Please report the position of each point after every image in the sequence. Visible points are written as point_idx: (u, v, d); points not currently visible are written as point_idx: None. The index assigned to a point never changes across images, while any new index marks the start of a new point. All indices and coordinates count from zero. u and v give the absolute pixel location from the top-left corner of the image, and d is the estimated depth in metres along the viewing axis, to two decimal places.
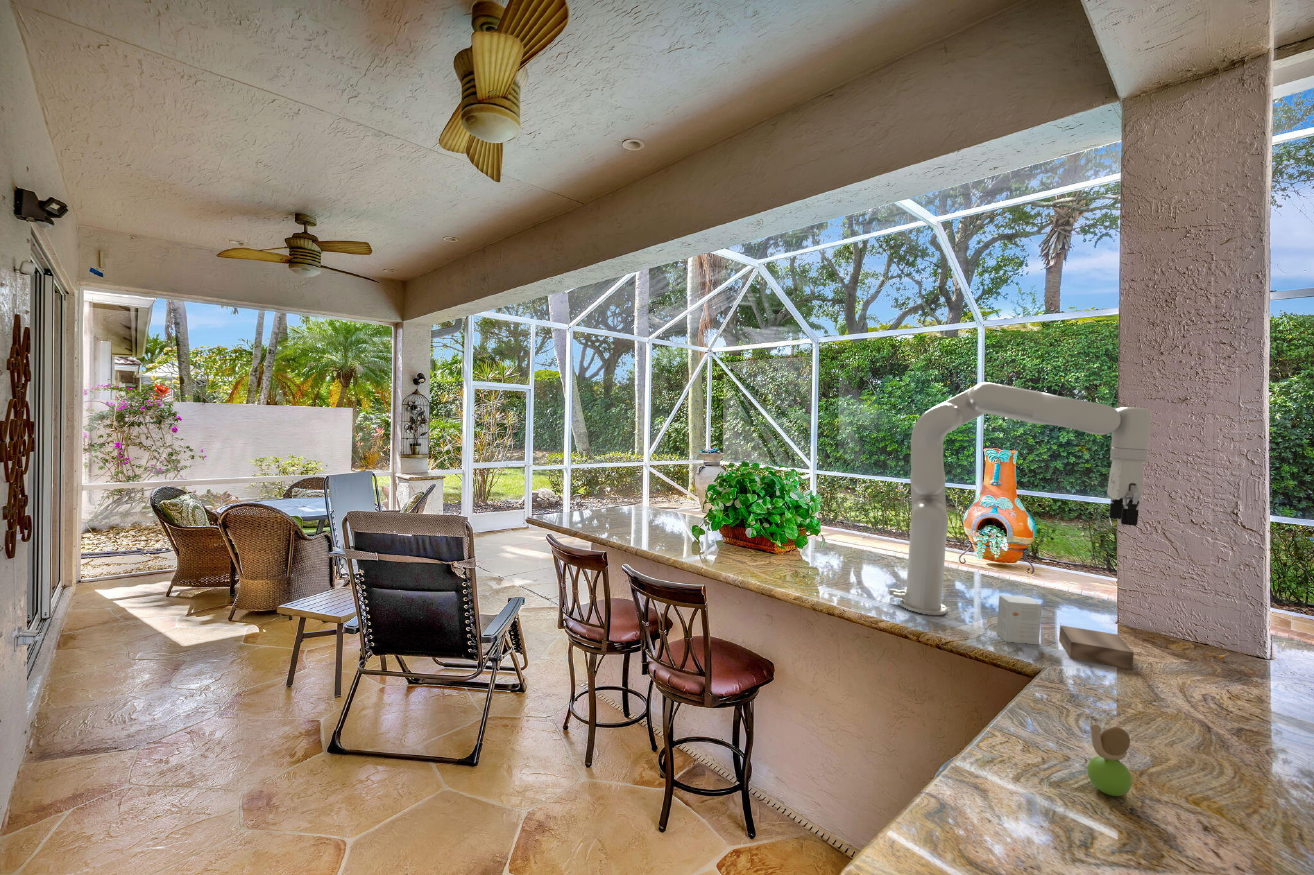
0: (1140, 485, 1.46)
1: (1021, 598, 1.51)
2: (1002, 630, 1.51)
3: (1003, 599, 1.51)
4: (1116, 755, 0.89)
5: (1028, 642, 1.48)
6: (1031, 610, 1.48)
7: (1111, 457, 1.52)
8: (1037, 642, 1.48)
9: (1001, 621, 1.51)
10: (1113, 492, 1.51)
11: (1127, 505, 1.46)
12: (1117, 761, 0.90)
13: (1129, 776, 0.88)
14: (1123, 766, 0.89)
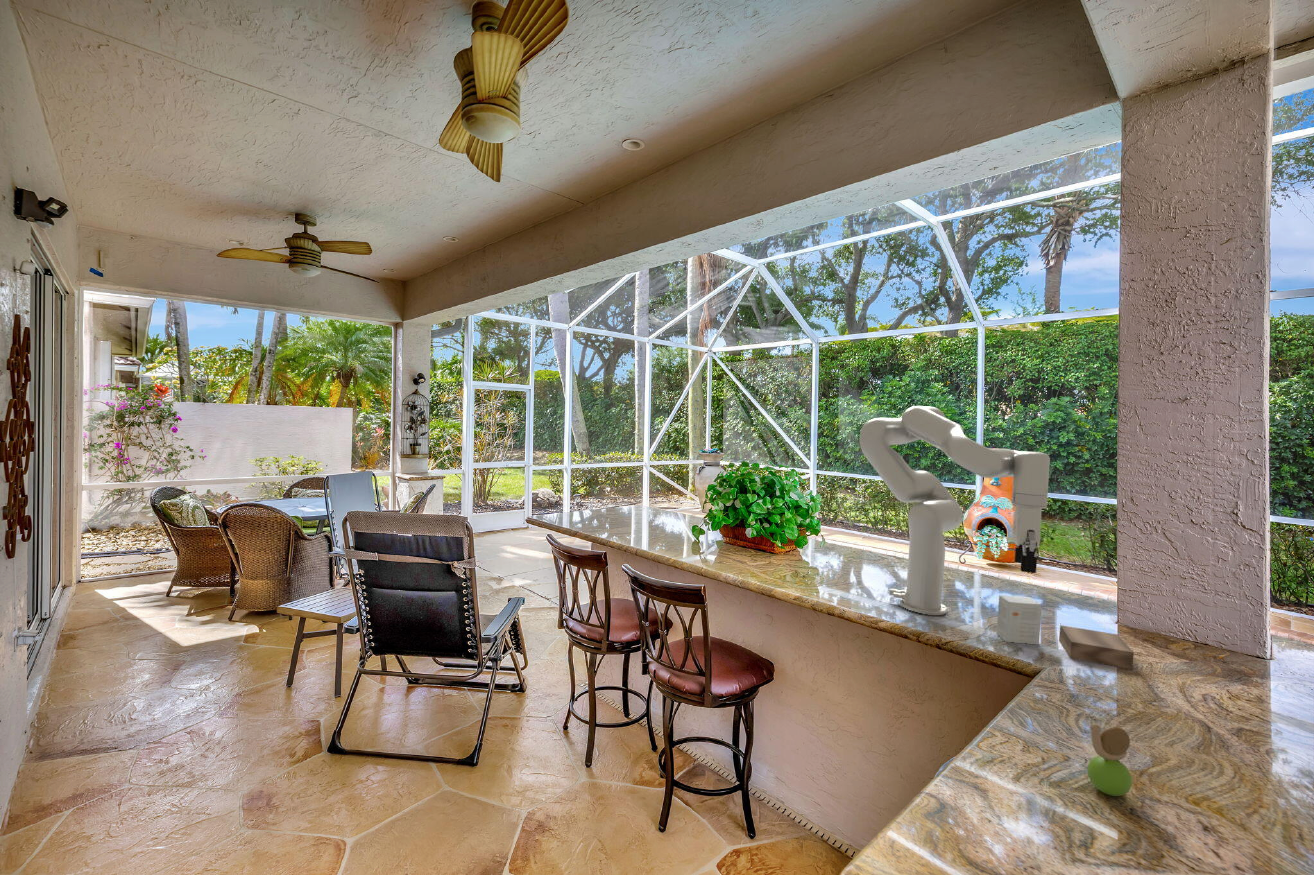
0: (1038, 532, 1.44)
1: (1021, 598, 1.51)
2: (1002, 630, 1.51)
3: (1003, 599, 1.51)
4: (1116, 755, 0.89)
5: (1028, 642, 1.48)
6: (1031, 610, 1.48)
7: (1012, 502, 1.50)
8: (1037, 642, 1.48)
9: (1001, 621, 1.51)
10: (1014, 538, 1.49)
11: (1025, 552, 1.44)
12: (1117, 761, 0.90)
13: (1129, 776, 0.88)
14: (1123, 766, 0.89)
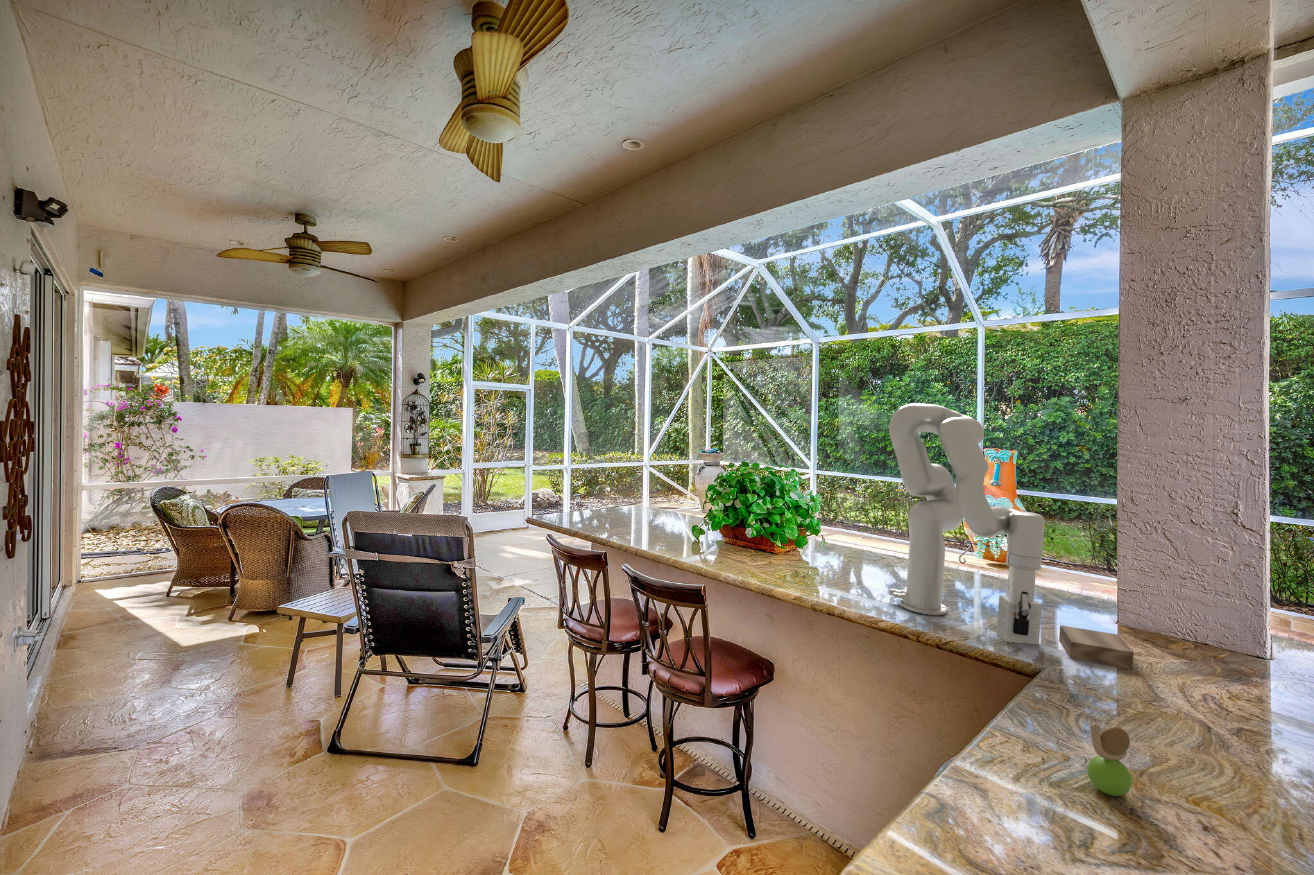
0: (1032, 594, 1.45)
1: None
2: (1002, 630, 1.51)
3: (1003, 599, 1.51)
4: (1116, 755, 0.89)
5: (1028, 642, 1.48)
6: (1031, 610, 1.48)
7: (1007, 562, 1.51)
8: (1037, 642, 1.48)
9: (1002, 621, 1.51)
10: (1008, 597, 1.50)
11: (1018, 615, 1.46)
12: (1117, 761, 0.90)
13: (1129, 776, 0.88)
14: (1123, 766, 0.89)
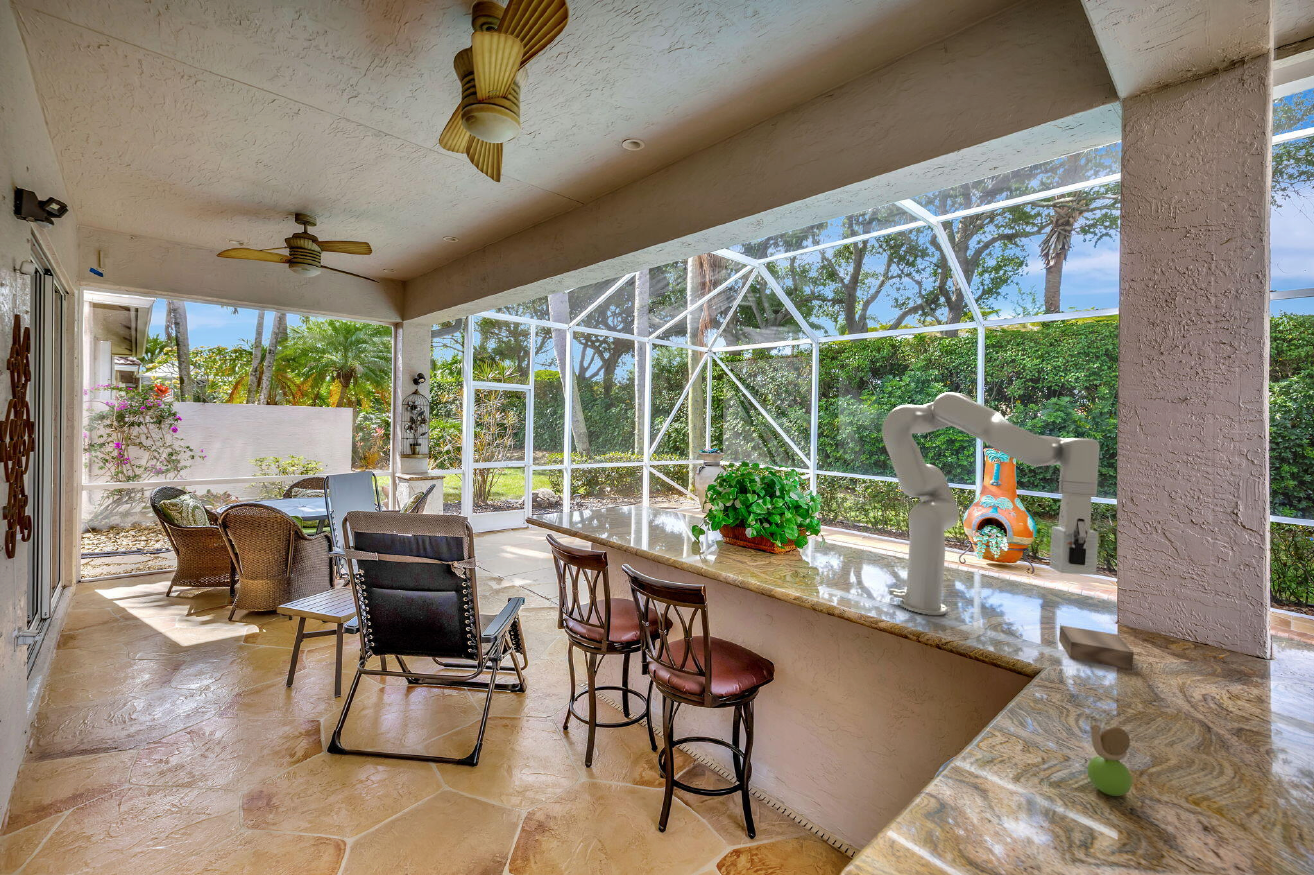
0: (1088, 521, 1.39)
1: None
2: (1056, 561, 1.45)
3: (1056, 530, 1.45)
4: (1116, 755, 0.89)
5: (1085, 572, 1.42)
6: (1087, 539, 1.42)
7: (1059, 490, 1.45)
8: (1094, 572, 1.42)
9: (1055, 552, 1.45)
10: (1062, 527, 1.44)
11: (1074, 544, 1.40)
12: (1117, 761, 0.90)
13: (1129, 776, 0.88)
14: (1123, 766, 0.89)
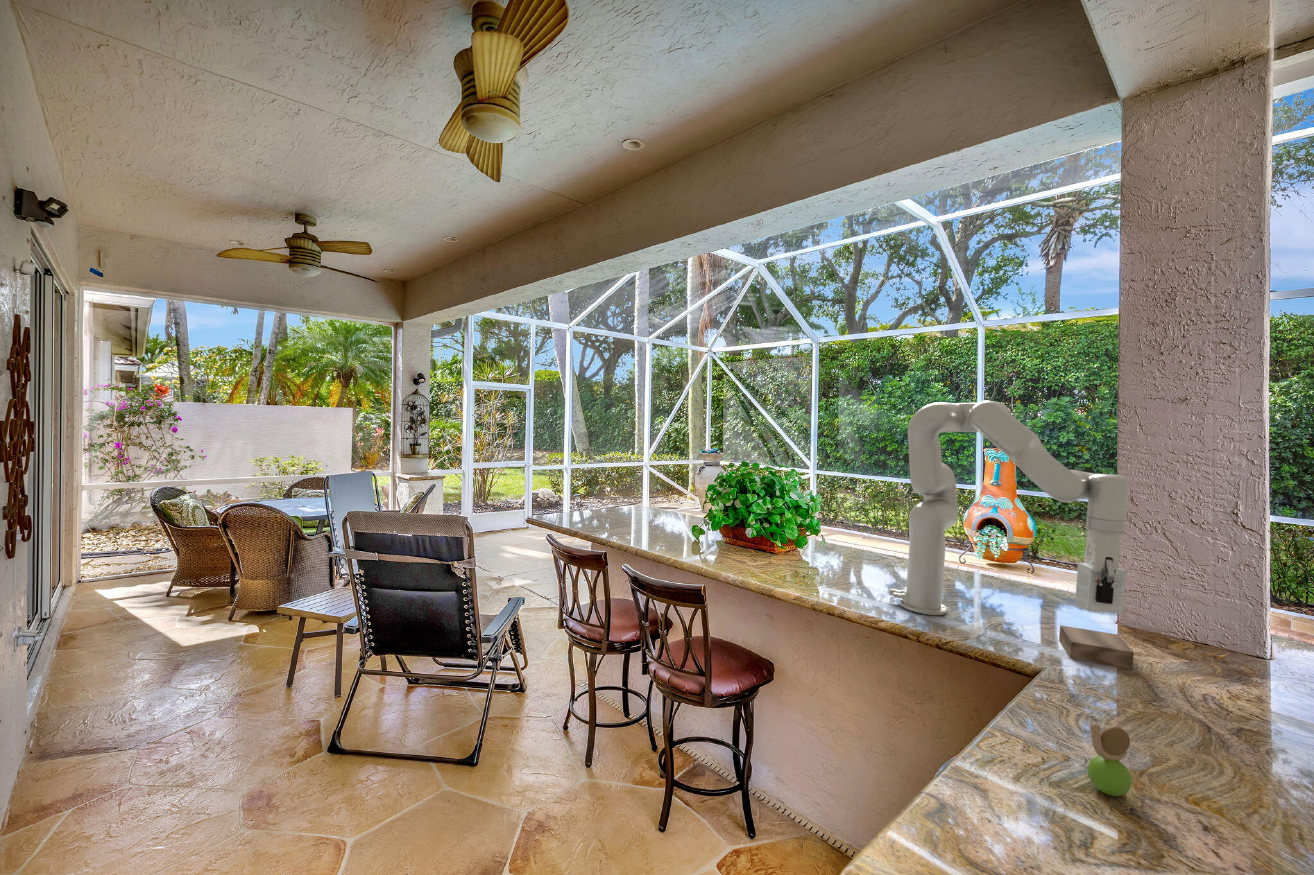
0: (1117, 559, 1.37)
1: None
2: (1082, 599, 1.43)
3: (1083, 566, 1.43)
4: (1116, 755, 0.89)
5: (1112, 611, 1.40)
6: (1115, 577, 1.39)
7: (1087, 527, 1.43)
8: (1121, 611, 1.40)
9: (1082, 589, 1.43)
10: (1089, 564, 1.42)
11: (1102, 582, 1.38)
12: (1117, 761, 0.90)
13: (1129, 776, 0.88)
14: (1123, 766, 0.89)
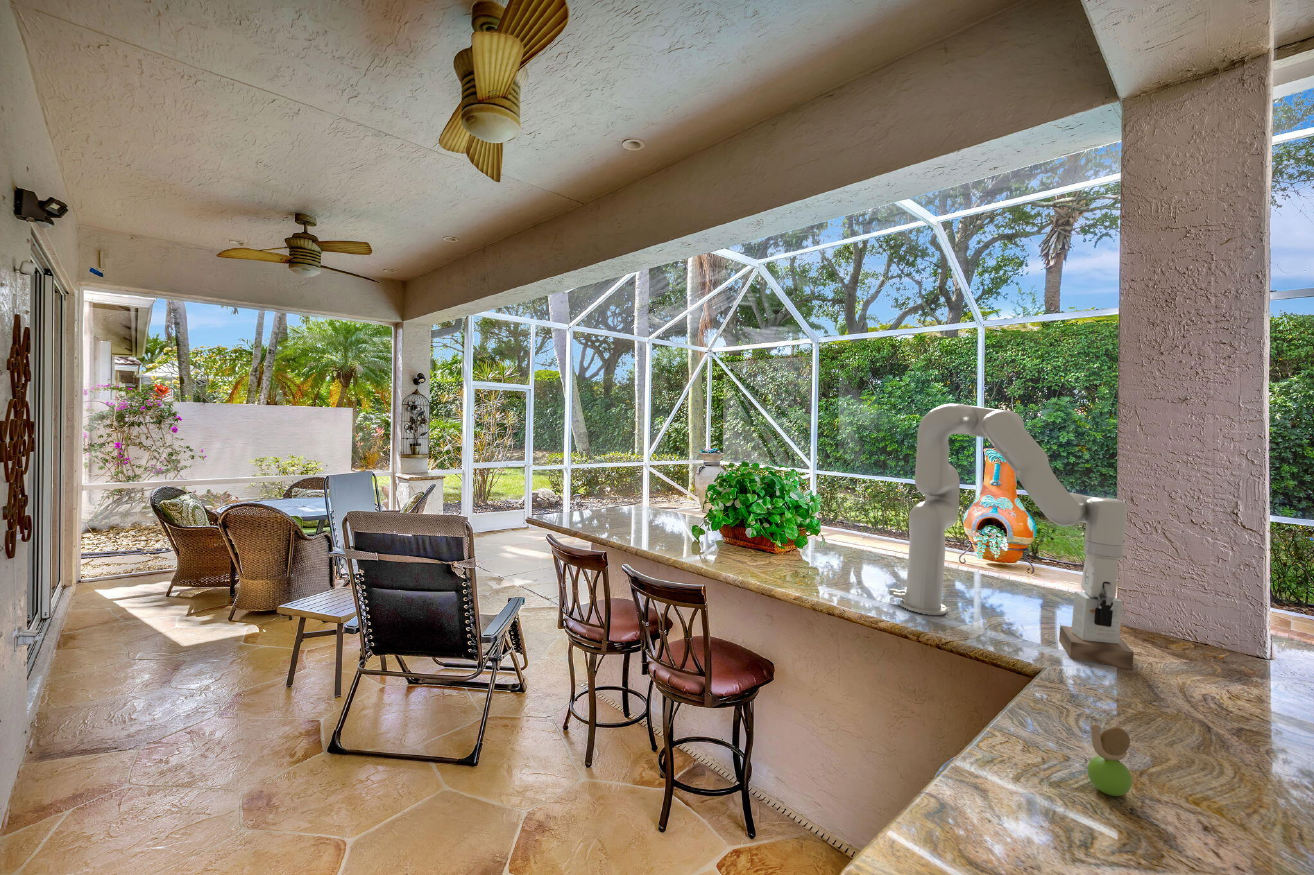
0: (1114, 584, 1.37)
1: None
2: (1078, 627, 1.43)
3: (1079, 596, 1.44)
4: (1116, 755, 0.89)
5: (1107, 641, 1.40)
6: None
7: (1085, 550, 1.43)
8: (1117, 641, 1.40)
9: (1077, 618, 1.44)
10: (1087, 588, 1.43)
11: (1101, 605, 1.38)
12: (1117, 761, 0.90)
13: (1129, 776, 0.88)
14: (1123, 766, 0.89)
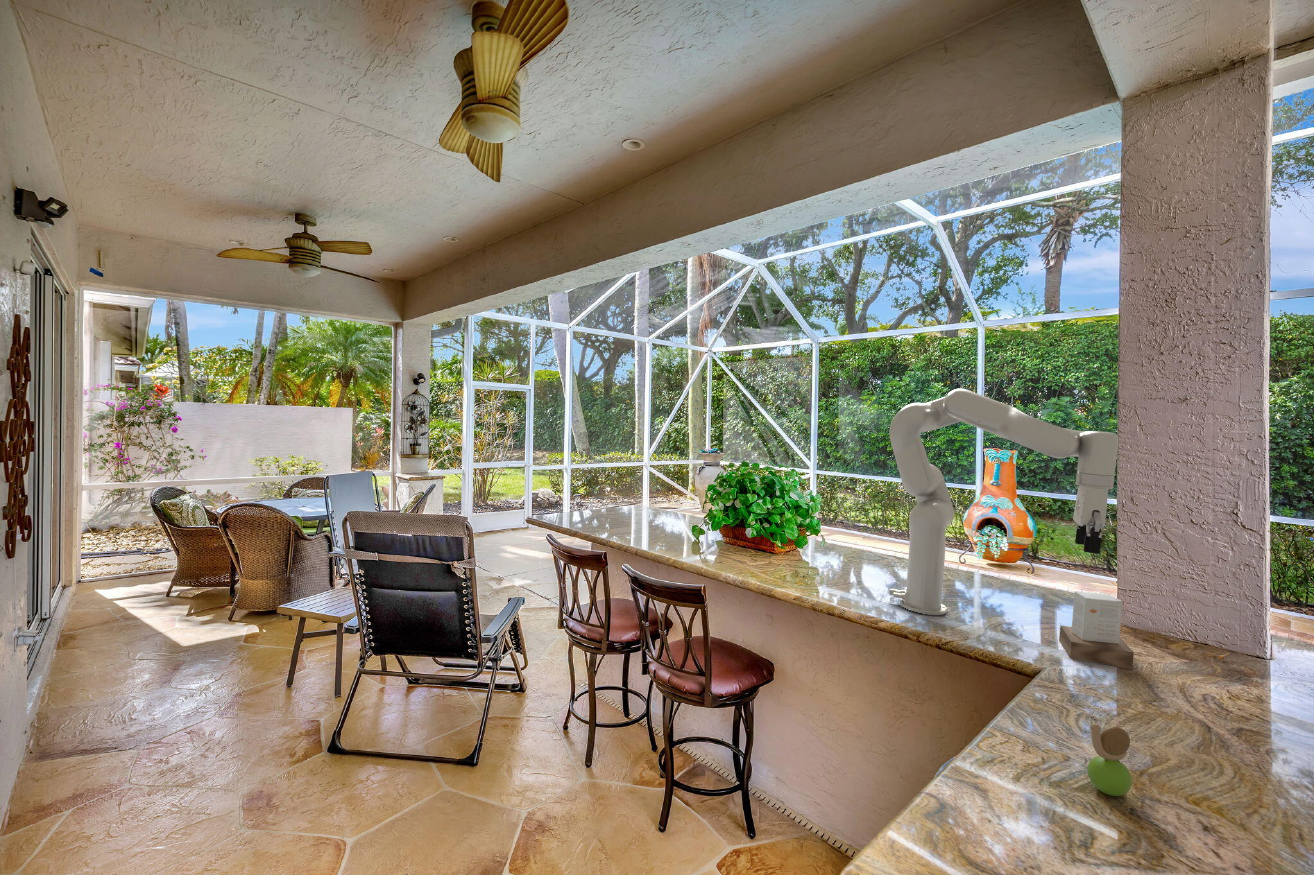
0: (1104, 512, 1.42)
1: (1099, 595, 1.43)
2: (1078, 627, 1.43)
3: (1079, 596, 1.44)
4: (1116, 755, 0.89)
5: (1107, 641, 1.40)
6: (1110, 607, 1.40)
7: (1076, 482, 1.48)
8: (1117, 641, 1.40)
9: (1077, 618, 1.44)
10: (1077, 518, 1.47)
11: (1090, 532, 1.42)
12: (1117, 761, 0.90)
13: (1129, 776, 0.88)
14: (1123, 766, 0.89)
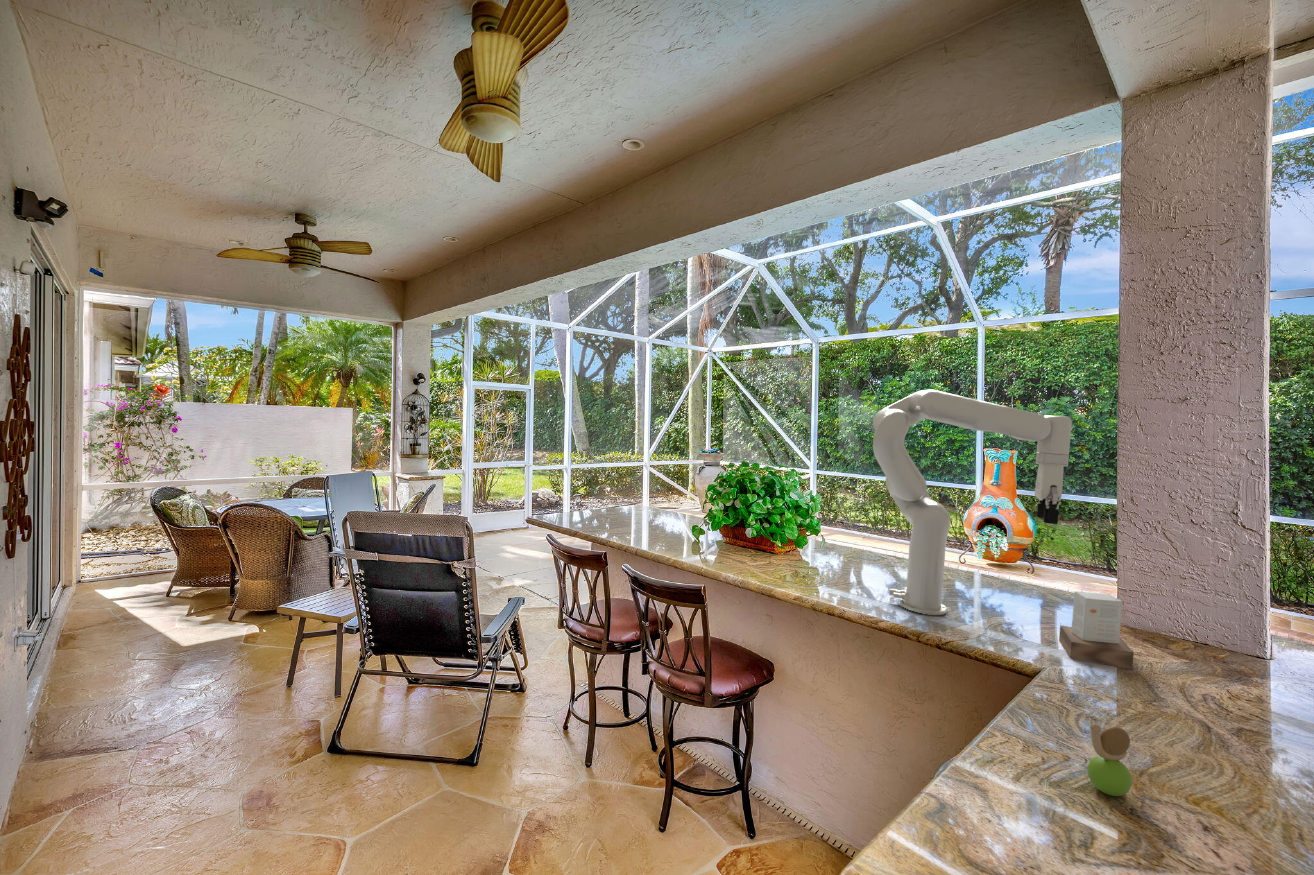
0: (1060, 487, 1.59)
1: (1099, 595, 1.43)
2: (1078, 627, 1.43)
3: (1079, 596, 1.44)
4: (1116, 755, 0.89)
5: (1107, 641, 1.40)
6: (1110, 607, 1.40)
7: (1036, 461, 1.65)
8: (1117, 641, 1.40)
9: (1077, 618, 1.44)
10: (1038, 493, 1.65)
11: (1048, 505, 1.60)
12: (1117, 761, 0.90)
13: (1129, 776, 0.88)
14: (1123, 766, 0.89)
